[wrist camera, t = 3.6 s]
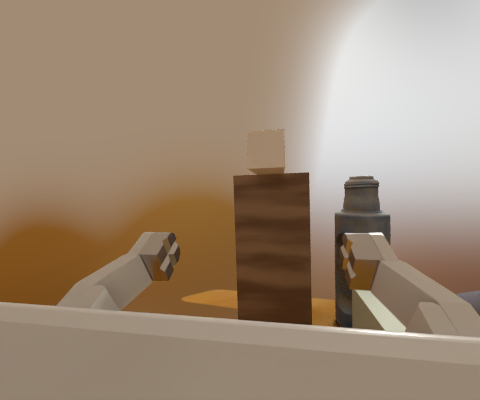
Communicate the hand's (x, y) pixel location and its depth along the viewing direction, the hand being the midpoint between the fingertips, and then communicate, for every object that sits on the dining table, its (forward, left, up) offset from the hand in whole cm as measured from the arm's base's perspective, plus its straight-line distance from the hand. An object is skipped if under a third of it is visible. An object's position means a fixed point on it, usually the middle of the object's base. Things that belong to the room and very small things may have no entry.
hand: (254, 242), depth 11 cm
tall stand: (+28, +5, -25) cm, 38 cm away
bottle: (+40, -10, -26) cm, 48 cm away
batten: (+23, +4, +5) cm, 24 cm away
